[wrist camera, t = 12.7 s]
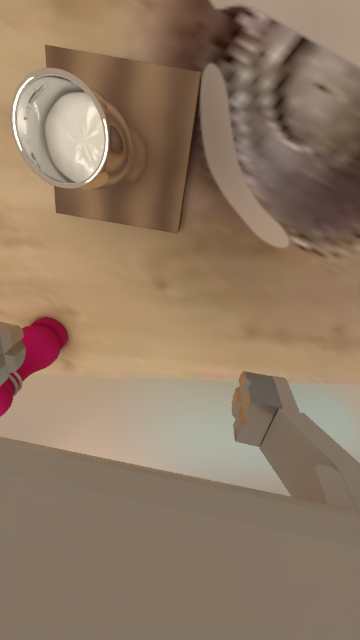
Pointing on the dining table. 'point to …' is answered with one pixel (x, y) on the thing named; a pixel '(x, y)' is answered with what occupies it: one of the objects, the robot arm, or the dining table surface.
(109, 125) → the beer glass
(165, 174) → the walnut base
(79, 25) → the dining table surface
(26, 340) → the pepper mill
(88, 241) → the dining table surface
